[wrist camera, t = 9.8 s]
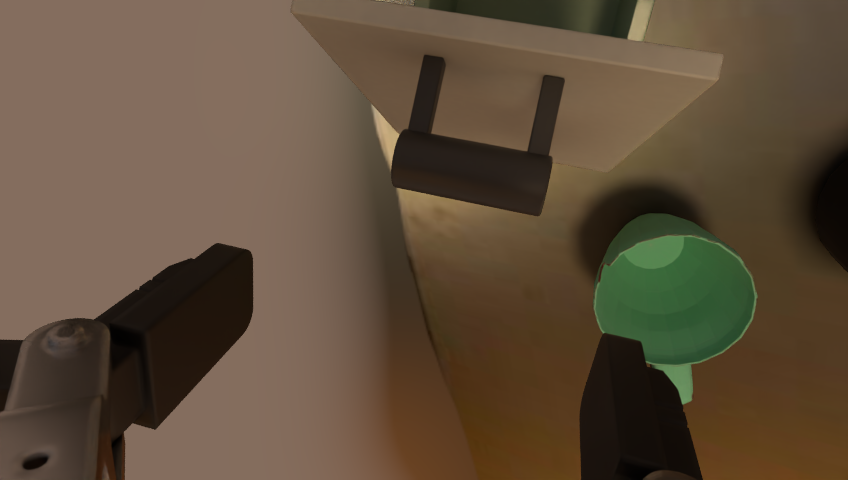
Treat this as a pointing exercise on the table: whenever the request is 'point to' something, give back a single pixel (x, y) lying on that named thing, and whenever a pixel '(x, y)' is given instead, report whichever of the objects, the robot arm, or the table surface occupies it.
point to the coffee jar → (835, 215)
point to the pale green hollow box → (560, 14)
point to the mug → (674, 294)
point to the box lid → (502, 95)
